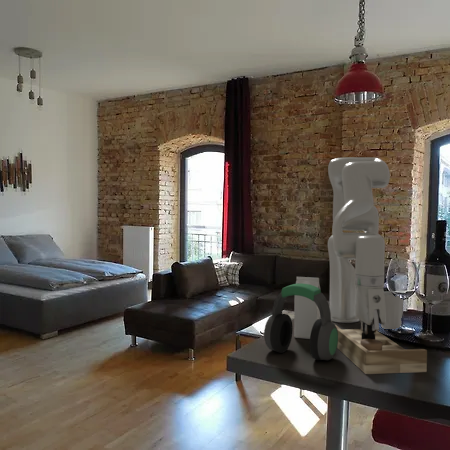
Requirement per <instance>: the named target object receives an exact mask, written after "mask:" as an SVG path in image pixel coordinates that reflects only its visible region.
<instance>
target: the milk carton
mask: <svg viewBox="0 0 450 450" xmlns="http://www.w3.org/2000/svg"><path fill="white" fill-rule="evenodd" d="M298 283H303V284H310V285H313V286H315V287H317V288H319V289H320V290H321V286H320V278H319V277H309V276H307V277H305V276H296V281H295V284H298ZM293 298H294V303H293V304H294V308H293V309H294V313H293V318H294V319H293V324H294V325H293V326H294V327H293V331H294V332H293V333H294V334H293V336H294V338H297V339H306V340H310V335H311V330H312V327H313V325H314V323H315V321H316V320H318V319H321V315H320V311H319V309H318V307H317V305H316V303H315V302H314V301H312V300H310V299H308V298H306V297H303V296H298V295H294V297H293Z"/></svg>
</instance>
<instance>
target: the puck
mask: <svg viewBox="0 0 450 450" xmlns="http://www.w3.org/2000/svg"><path fill="white" fill-rule="evenodd" d="M360 344H361V345H362V346H363V347H364V348H366V349H367V350H368V351H374V350H382V342H381V341H379V340H375V339H362V340H361V341H360Z"/></svg>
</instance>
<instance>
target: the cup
mask: <svg viewBox="0 0 450 450" xmlns="http://www.w3.org/2000/svg"><path fill="white" fill-rule="evenodd" d="M391 292H392V291H391V290H390V291H384V296H385V313H386V322H385V324H384V325H382V324H380V326H381V327H382V328H384V329H396V328H399V327H400V326H401V327H402V321H401V318H402V319H403V311H404V309H403V308H404V300H405V299H404V300H403V299H401V298H400V297H399V296H396V297H395V296H394V295H393V294H392V293H391ZM381 327H380V328H381ZM382 328H381V329H382ZM384 329H383V330H384Z"/></svg>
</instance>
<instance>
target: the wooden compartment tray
mask: <svg viewBox="0 0 450 450" xmlns="http://www.w3.org/2000/svg"><path fill="white" fill-rule="evenodd" d="M336 327H337V330H338V345H337V350H339V351H340V352H341V353H342V354H343V355H344V356H345V357H346V358H348V359H349V361H351V362H352V363H353V364H354V366H355V365H356V367H357V368H358V369H359V370H361V371H362V373H364V374H365V375H375V374H376V375H377V374H400V373H402V374H403V373H405V374H407V373H427V370H428V369H427V365H428V350H427V349H425V348H414V349H413V348H412V349H410V348H409V349H405V348H404V347H402V346H401V345H400V344H397V343H396V342H394V341H393V340H391V339H390V338H388V337H387V336H385V335H384V334H382V333H381V332H379V331H376V334H375V340H379V341H381V342H382V350H374V351H368V350H367V349H366V348H364V347H363V346H362V345H361V344H360V341H361V340H362V331H361V328H354V329H353V328H351V329H348V328H347V329H346V328H345V329H341V328H340V327H339V326H338V325H336Z"/></svg>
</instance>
